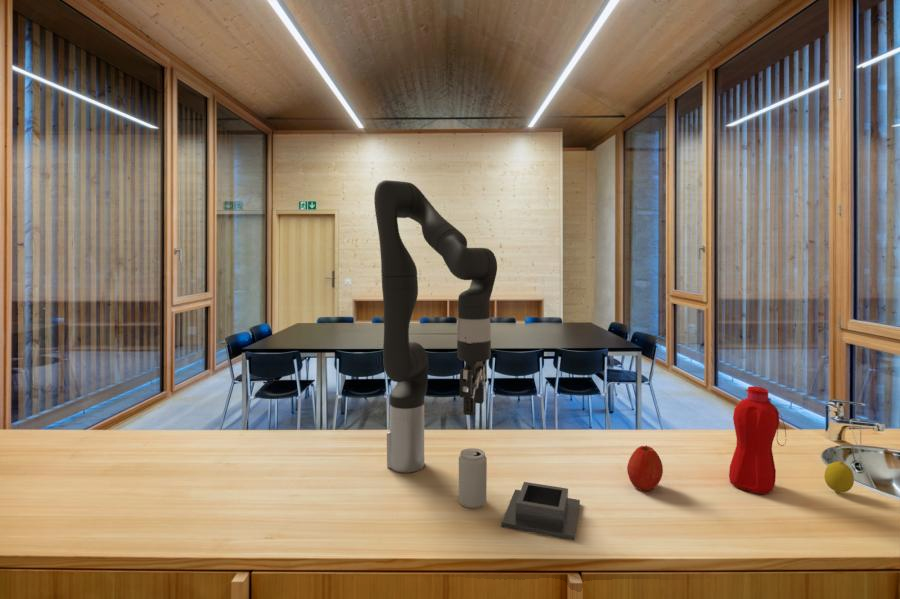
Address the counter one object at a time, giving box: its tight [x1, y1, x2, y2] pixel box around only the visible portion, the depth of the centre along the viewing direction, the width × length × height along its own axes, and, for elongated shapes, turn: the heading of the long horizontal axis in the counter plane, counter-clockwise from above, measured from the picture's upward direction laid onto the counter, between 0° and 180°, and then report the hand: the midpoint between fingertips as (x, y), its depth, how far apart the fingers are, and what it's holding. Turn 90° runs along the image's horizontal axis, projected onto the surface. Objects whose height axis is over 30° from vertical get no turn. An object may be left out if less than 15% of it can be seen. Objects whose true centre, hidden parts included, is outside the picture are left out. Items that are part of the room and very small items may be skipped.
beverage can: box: [458, 447, 488, 509], centre depth 112 cm, size 6×6×12 cm
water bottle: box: [728, 385, 787, 495], centre depth 120 cm, size 9×11×25 cm
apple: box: [626, 445, 664, 492], centre depth 120 cm, size 8×8×11 cm
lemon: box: [824, 460, 855, 494], centre depth 118 cm, size 6×6×8 cm
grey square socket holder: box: [500, 481, 581, 541], centre depth 108 cm, size 15×15×4 cm
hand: (474, 408), depth 111 cm, fingers open, 8 cm apart
